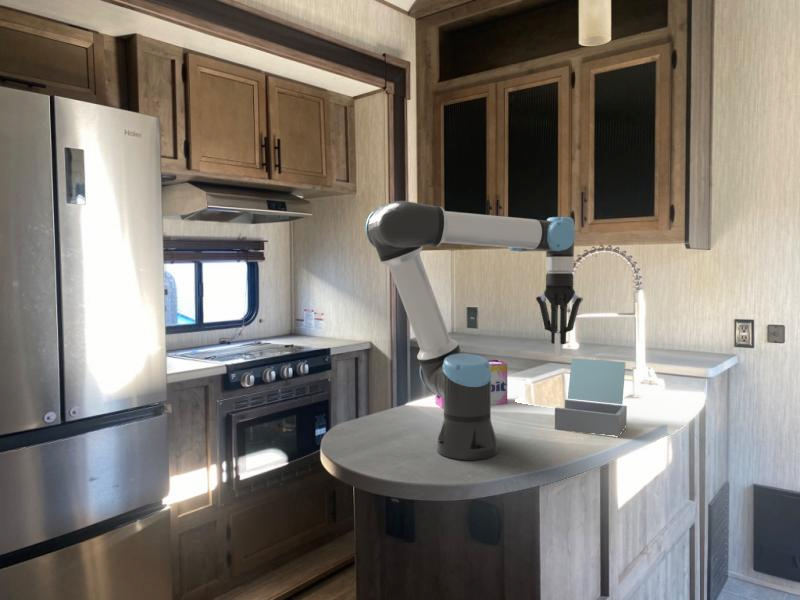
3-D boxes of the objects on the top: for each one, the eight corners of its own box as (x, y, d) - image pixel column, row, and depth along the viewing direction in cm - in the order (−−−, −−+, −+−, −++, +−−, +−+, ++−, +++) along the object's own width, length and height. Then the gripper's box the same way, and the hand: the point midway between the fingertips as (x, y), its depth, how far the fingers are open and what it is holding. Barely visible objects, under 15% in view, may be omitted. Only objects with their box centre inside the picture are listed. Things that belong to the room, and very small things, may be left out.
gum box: (438, 409, 192) (437, 367, 191) (431, 403, 199) (430, 363, 198) (508, 404, 197) (508, 363, 196) (498, 398, 205) (498, 359, 204)
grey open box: (618, 437, 159) (618, 415, 159) (554, 429, 168) (554, 408, 167) (626, 426, 169) (626, 405, 169) (565, 419, 178) (565, 399, 177)
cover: (625, 362, 173) (625, 362, 173) (571, 358, 180) (572, 358, 181) (621, 404, 170) (622, 404, 171) (567, 398, 178) (568, 398, 178)
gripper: (586, 272, 170) (584, 355, 171) (541, 272, 176) (540, 351, 178) (579, 273, 163) (578, 359, 165) (532, 272, 170) (531, 355, 172)
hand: (558, 355), depth 172 cm, fingers closed
